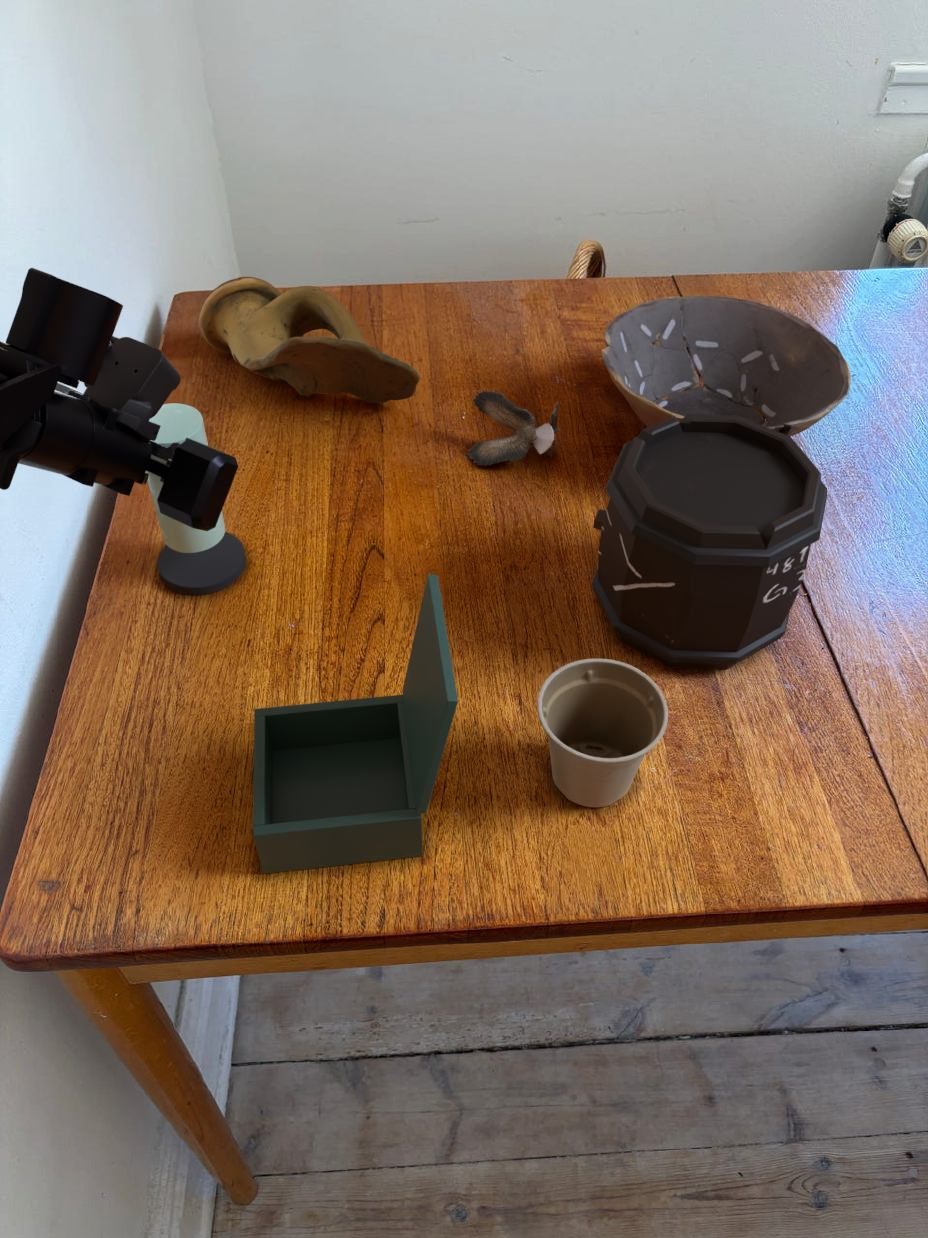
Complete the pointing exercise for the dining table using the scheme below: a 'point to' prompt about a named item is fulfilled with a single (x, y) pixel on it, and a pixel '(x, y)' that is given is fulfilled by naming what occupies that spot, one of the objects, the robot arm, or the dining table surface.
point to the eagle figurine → (519, 422)
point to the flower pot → (599, 727)
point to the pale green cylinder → (176, 535)
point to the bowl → (724, 362)
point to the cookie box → (333, 785)
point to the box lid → (429, 694)
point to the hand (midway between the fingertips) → (193, 474)
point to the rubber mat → (203, 567)
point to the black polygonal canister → (706, 539)
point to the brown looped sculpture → (301, 341)
